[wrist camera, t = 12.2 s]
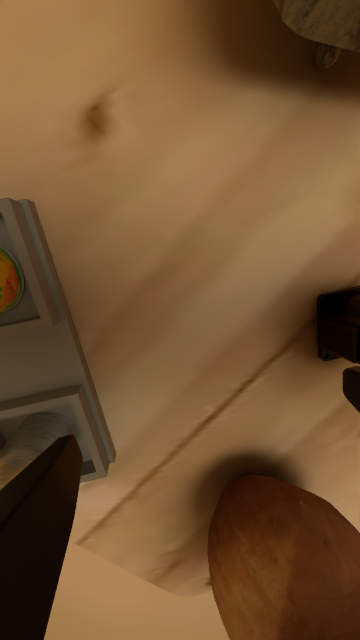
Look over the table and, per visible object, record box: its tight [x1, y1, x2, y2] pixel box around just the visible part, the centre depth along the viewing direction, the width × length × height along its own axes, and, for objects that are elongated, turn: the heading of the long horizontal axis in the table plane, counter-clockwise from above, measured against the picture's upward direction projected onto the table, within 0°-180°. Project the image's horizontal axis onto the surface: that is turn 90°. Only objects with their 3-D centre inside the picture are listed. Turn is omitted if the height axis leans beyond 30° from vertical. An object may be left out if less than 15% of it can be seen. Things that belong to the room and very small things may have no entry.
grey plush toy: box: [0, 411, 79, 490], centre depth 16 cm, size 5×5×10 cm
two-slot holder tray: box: [0, 198, 116, 483], centre depth 18 cm, size 9×23×2 cm, turn 11°
